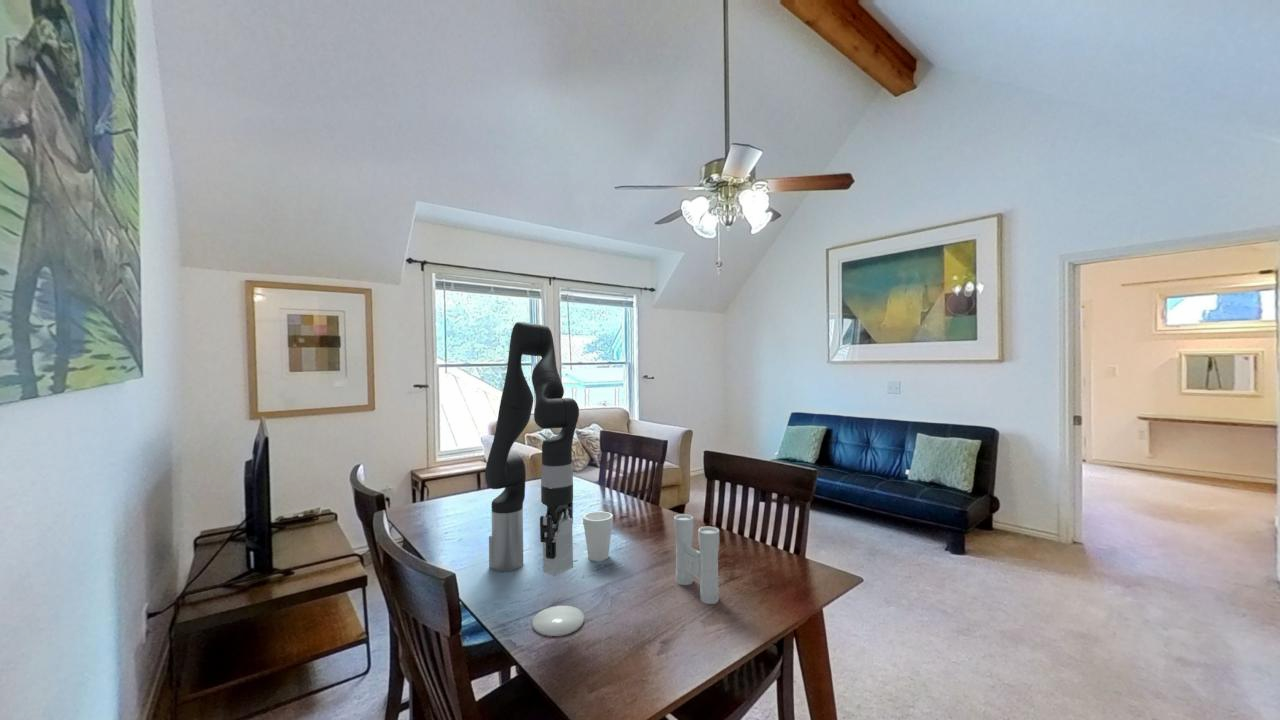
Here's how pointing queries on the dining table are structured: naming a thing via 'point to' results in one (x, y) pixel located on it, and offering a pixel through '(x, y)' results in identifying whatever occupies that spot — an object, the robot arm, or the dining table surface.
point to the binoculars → (697, 557)
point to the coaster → (558, 620)
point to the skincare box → (560, 550)
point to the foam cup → (598, 534)
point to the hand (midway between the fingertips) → (557, 551)
